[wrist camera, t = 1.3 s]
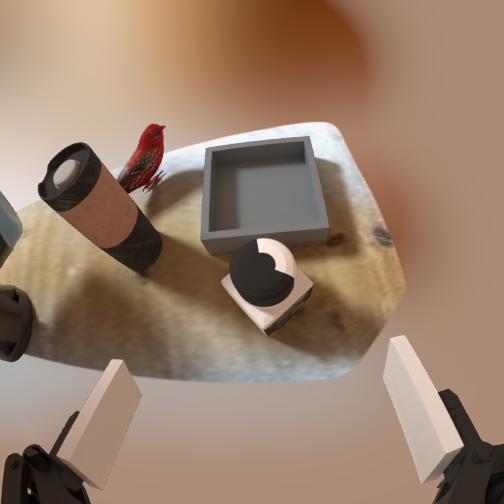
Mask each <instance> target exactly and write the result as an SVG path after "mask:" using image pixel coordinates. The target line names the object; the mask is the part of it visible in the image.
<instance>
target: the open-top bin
mask: <svg viewBox="0 0 504 504" xmlns="http://www.w3.org/2000/svg"><path fill="white" fill-rule="evenodd" d="M328 232H329V222H328V217H327V212H326V207H325V202H324V197H323V192H322V188H321V183H320V178H319V174H318V169H317V165H316V161H315V157H314V152H313V148H312V144H311V140H310V136H305V137H292V138H280V139H270V140H261V141H252V142H244V143H236V144H229V145H222V146H215V147H209V148H206V153H205V166H204V181H203V197H202V217H201V242H202V243H203V245H204V246H205V248H206V249H207V251H208V252H209V254H217V253H228V252H237V250H238V249H239V248H240V247H241V246H243V245H244V244H246V243H248V242H250V241H252V240H256V239H262V238H266V239H272V240H276V241H278V242H280V243H282V244H283V245H285V246H286V247H292V246H303V245H314V244H324V243H326V241H327V236H328Z"/></svg>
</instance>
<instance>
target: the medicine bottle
mask: <svg viewBox="0 0 504 504" xmlns="http://www.w3.org/2000/svg"><path fill="white" fill-rule="evenodd" d="M221 284H222V285H223V287H224V288H225V289H226V291H227V292H228V293H229V295H230V296H231V297H232V299H233V300H234V301H235V302H236V303H237V304H238V305H239V307H240V308H241V309H242V310H243V311H244V312H245V313H246V314H247V315H248V316H249V318H250V319H251V320H252V321H253V322H254V323H255V324H256V325H257V326H258V327H259V328H260V330H261V331H262V332H263V333H264V334H265V335H266V336H267V337H270V336H272V335H273V334H274V333H275V332H276V331H277V330H278V329H279V328H280V327H282V326H283V325H284V324H285V323H286V322H287V321H288V320H289V319H290V318H291V317H292V316H293V315H295V314H296V313H297V312H298V311H299V310H300V309H301V308H302V307H303V306H304V305H305V304H306V303H307V302H308V301H309V300H310V296H311V292H312V287H313V282H312V281H311V280H310V279H309V278H308V277H307V276H306V275H305V274H304V273H303V272H302V271H301V270H300V269H299V268H298V267H297V266H296V264H295V260H294V257H293V255H292V253H291V252H290V250H289V249H288V248H287V247H286V246H285V245H283V244H282V243H280V242H278V241H276V240H272V239H266V238H262V239H256V240H252V241H250V242H248V243H246V244H244V245H243V246H241V247H240V248H239V249H238V250H237V252H236V253H235V254H234V256H233V258H232V260H231V264H230V273H229V274H228V275H227V276H226V277H224V278H223V279H222V280H221Z"/></svg>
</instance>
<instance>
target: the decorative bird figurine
mask: <svg viewBox="0 0 504 504" xmlns="http://www.w3.org/2000/svg"><path fill="white" fill-rule="evenodd" d="M164 128H165V126H159V125H157V124H151V125H149V126H148V127H147V128H146V129H145V131H144V132H143V134H142V135H141V137H140V140H139V144H138V147H137V149H136V150H135V152H134V153H133V155H132V156H131V158H130V159H129V161H128V162H127V164H126V165H125V166H124V168H123V170H122V171H121V173H120V175H119V177H118V179H117V182H118V183H119V184H120V185H121V186H122V188H123V189H124V190H125V191H126V192H127V194H129V193H131V192H132V191H134V190H136V189H138V188H140V187H142V186H144V185H146V186H145V187H144V189H145V188H146V187H147V188H148V187H149V186H150V185H151V184H152V183H154V182H155V181H156V180H157V179H158V177H159V175H160V174H161V173H162V172H163V171H164V170H163V171H161V172H160V174H159V175H157V176H155V177H154V178H153V179H152V180H150V179H151V178H152V177H153V175H154V174H155V173H156V171H157V170H158V168H159V166H160V164H161V161H162V158H163V153H164V145H163V129H164ZM147 188H146V189H147ZM144 189H143V191H144Z"/></svg>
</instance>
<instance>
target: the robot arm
mask: <svg viewBox="0 0 504 504" xmlns="http://www.w3.org/2000/svg"><path fill="white" fill-rule="evenodd" d="M21 234H22V223H21V221H20V218H19V217H18V215H17V213H16V212H15V210H14V209H13V207H12V206H11V204H10V203H9V202H8V200H7V199H6V198H5V196H4V195H3V194H2V192H1V191H0V268H1V267H2V265H3V264H4V262H5V261H6V259H7V258H8V256H9V255H10V253H11V252H12V251H13V249H14V246H15V244H16V243H17V241H18V239H19V238H20V236H21ZM31 327H32V312H31V305H30V302H29V299H28V297H27V295H26V293H25V292H24V291H23V290H21V289H19V288H17V287H15V286H13V285H1V284H0V359H1V360H4V361H8V362H15V361H17V360H18V359H19V358H20V357H21V356H22V355H23V353H24V352H25V350H26V348H27V345H28V342H29V339H30V334H31ZM383 379H384V382H385V384H386V387H387V390H388V392H389V394H390V397H391V399H392V402H393V405H394V407H395V410H396V413H397V415H398V418H399V421H400V423H401V426H402V429H403V432H404V434H405V437H406V440H407V443H408V446H409V449H410V451H411V454H412V457H413V460H414V463H415V466H416V470H417V473H418V476H419V479H420V482H421V484H424V483H427V482H429V481H432V480H435V479H437V478H438V477H439V476H440V475H441V474H442V473H443V474H444V477H445V478H444V480H443V481H442V482H441V483H440V484H439V485H438V487H437V488H440V489H439V491H438V493H437V496H436V497H435V500H434V501H433V503H432V504H504V444H501V445H493V446H492V445H491V444H489V443H487V442H483V441H482V440H481V439H480V437H479V435H478V433H477V431H476V429H475V427H474V425H473V424H472V422H471V420H470V418H469V416H468V414H467V413H466V411H465V409H464V407H463V406H462V403H461V402H460V400H459V398H458V396H457V395H456V394H455V393H453V392H452V391H451V390H450V389H446V390H443V391H440V392H437V391H436V389H435V387H434V385H433V384H432V382H431V380H430V378H429V376H428V374H427V373H426V371H425V369H424V367H423V366H422V364H421V362H420V360H419V359H418V357H417V355H416V353H415V352H414V350H413V349H412V347H411V345H410V343H409V342H408V340H407V338H406V337H405V335H402V336H398V337H393V338H390V342H389V348H388V354H387V359H386V365H385V370H384V375H383ZM141 396H142V394H141V393H140V391H139V389H138V387H137V385H136V383H135V382H134V380H133V378H132V376H131V374H130V372H129V370H128V368H127V366H126V364H125V362H124V360H116V359H112V360H111V361H110V363H109V364H108V366H107V368H106V369H105V371H104V373H103V374H102V376H101V378H100V379H99V381H98V383H97V384H96V386H95V387H94V389H93V391H92V393H91V394H90V396H89V398H88V399H87V401H86V403H85V405H84V406H83V408H82V410H81V411H80V412H78V411H76V412H75V413H74V414H73V415H72V416H71V417H70V418H69V419H68V421H67V423H66V425H65V427H64V428H63V430H62V433H60V435H59V437H58V439H57V441H56V442H55V444H54V446H53V448H52V450H51V452H50V453H49V455H48V454H47V453H46V452H45V451H44V450H43V449H42V448H41V447H40V446H39V445H36V444H33V445H30V446H28V447H27V448H26V449H25V450H24V452H23V455H22V456H21V455H19V454H17V453H13V454H11V455H9V456H8V458H7V459H6V462H5V467H4V476H3V484H2V497H1V504H91V503H90V501H89V498H88V495H87V493H86V490H85V488H84V486H83V485H82V483H83V481H85V482H86V483H87V484H88V485H90V486H91V487H94V488H97V489H100V490H104V487H105V485H106V482H107V480H108V477H109V474H110V472H111V469H112V467H113V464H114V462H115V459H116V457H117V454H118V452H119V449H120V446H121V444H122V442H123V439H124V437H125V434H126V432H127V429H128V427H129V424H130V422H131V420H132V418H133V415H134V413H135V411H136V408H137V406H138V404H139V401H140V399H141ZM28 488H29V489H30V490H31V494H29V493H27V492H28Z"/></svg>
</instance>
